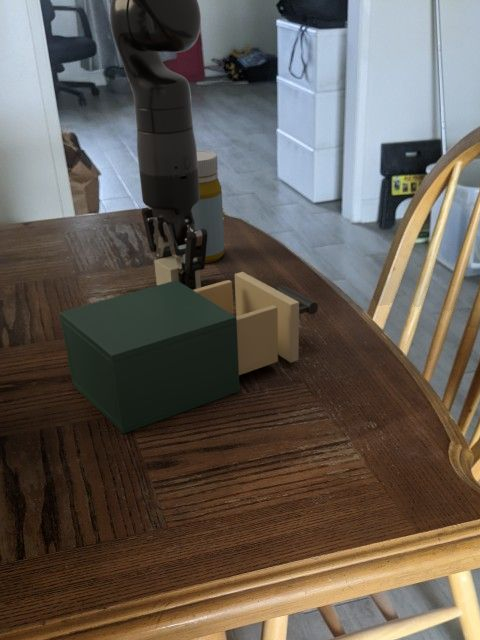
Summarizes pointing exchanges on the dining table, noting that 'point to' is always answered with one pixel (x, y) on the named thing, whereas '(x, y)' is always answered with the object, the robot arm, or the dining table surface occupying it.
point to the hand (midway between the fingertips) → (179, 290)
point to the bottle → (209, 205)
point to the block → (170, 271)
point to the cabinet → (151, 353)
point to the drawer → (261, 319)
